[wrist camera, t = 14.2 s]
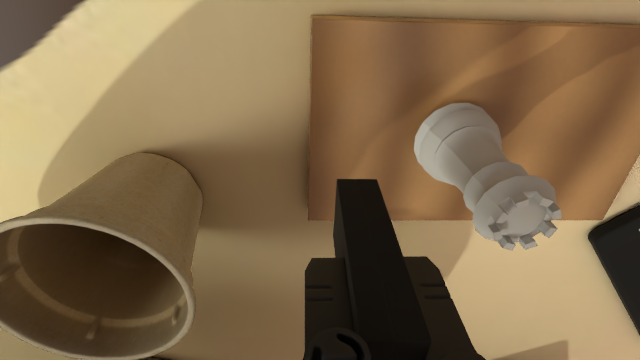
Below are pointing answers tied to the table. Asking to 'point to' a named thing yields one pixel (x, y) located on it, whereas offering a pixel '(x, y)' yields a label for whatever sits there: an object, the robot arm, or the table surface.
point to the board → (478, 89)
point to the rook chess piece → (486, 176)
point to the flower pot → (105, 264)
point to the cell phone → (622, 258)
